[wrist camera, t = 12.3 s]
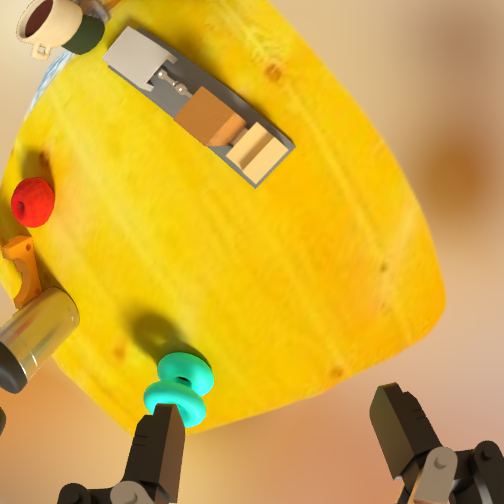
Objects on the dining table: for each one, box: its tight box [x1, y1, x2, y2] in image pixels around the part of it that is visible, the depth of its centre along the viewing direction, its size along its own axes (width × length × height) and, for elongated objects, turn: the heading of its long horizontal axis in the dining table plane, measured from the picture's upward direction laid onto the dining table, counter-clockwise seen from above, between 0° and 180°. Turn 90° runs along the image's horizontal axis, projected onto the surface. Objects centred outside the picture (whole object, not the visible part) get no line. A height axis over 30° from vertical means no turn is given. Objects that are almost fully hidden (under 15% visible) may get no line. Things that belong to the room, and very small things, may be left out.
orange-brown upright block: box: [154, 67, 249, 146], centre depth 25 cm, size 17×4×12 cm, turn 48°
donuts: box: [144, 352, 214, 427], centre depth 42 cm, size 10×10×10 cm
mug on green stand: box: [16, 0, 104, 60], centre depth 22 cm, size 11×7×13 cm, turn 169°
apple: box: [11, 177, 55, 228], centre depth 34 cm, size 8×8×7 cm
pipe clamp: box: [1, 235, 42, 309], centre depth 40 cm, size 12×4×6 cm, turn 175°
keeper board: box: [102, 26, 296, 189], centre depth 29 cm, size 27×7×5 cm, turn 48°
